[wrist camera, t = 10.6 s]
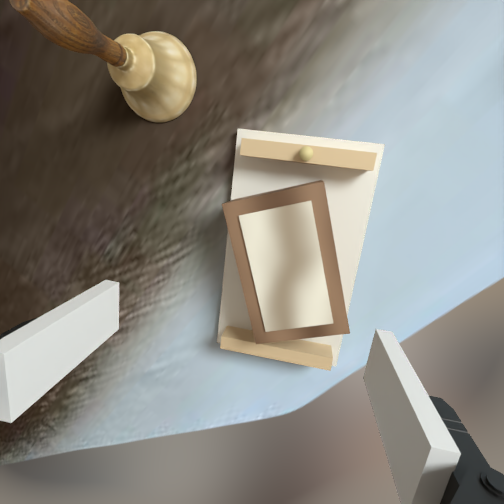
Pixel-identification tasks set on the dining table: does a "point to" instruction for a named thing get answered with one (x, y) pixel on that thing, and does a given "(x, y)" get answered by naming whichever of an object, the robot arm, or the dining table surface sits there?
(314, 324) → the frame
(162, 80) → the hand bell
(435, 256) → the dining table surface
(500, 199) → the dining table surface
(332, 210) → the wall panel
